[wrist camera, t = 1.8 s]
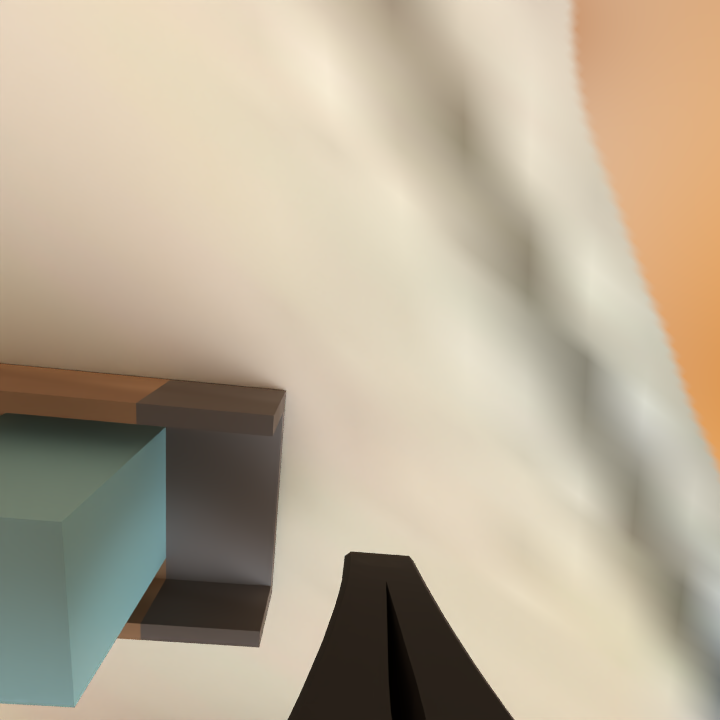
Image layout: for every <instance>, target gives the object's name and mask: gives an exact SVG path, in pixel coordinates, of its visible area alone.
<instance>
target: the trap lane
mask: <svg viewBox="0 0 720 720" xmlns="http://www.w3.org/2000/svg"><path fill="white" fill-rule="evenodd" d="M285 397H286V391H284V390H274V389H263V388H253V387H242V386H232V385H221V384H210V383H200V382H189V381H179V380H168V379H158V378H147V377H137V376H126V375H116V374H105V373H95V372H84V371H74V370H63V369H53V368H42V367H31V366H21V365H10V364H0V415H3V414H5V413H15V414H26V415H37V416H48V417H60V418H71V419H82V420H93V421H105V422H116V423H127V424H138V425H149V426H161V427H166V559H165V560H164V562H163V564H162V565H161V567H160V569H159V570H158V572H157V574H156V575H155V577H154V578H153V580H152V582H151V583H150V585H149V587H148V588H147V590H146V591H145V593H144V595H143V596H142V598H141V600H140V601H139V603H138V605H137V606H136V608H135V609H134V611H133V613H132V614H131V616H130V618H129V619H128V621H127V622H126V624H125V626H124V627H123V629H122V631H121V632H120V634H119V635H118V637H117V638H120V639H136V640H152V641H168V642H184V643H200V644H216V645H231V646H247V647H259V646H260V641H261V637H262V633H263V628H264V624H265V620H266V615H267V611H268V607H269V603H270V598H271V594H272V583H273V568H274V554H275V540H276V526H277V511H278V497H279V483H280V468H281V454H282V440H283V426H284V411H285Z"/></svg>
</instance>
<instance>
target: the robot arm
mask: <svg viewBox="0 0 720 720" xmlns="http://www.w3.org/2000/svg"><path fill="white" fill-rule="evenodd" d="M288 720H514V719H513V717H512V716H511V715H510V713H509V712H508V711H507V709H506V708H505V707H504V705H503V704H502V702H501V701H500V699H499V698H498V697H497V695H496V694H495V692H494V691H493V690H492V688H491V687H490V685H489V684H488V683H487V681H486V680H485V678H484V677H483V675H482V674H481V672H480V671H479V669H478V668H477V667H476V665H475V664H474V662H473V661H472V659H471V658H470V656H469V654H468V653H467V651H466V650H465V648H464V647H463V645H462V644H461V642H460V640H459V639H458V637H457V636H456V634H455V633H454V631H453V630H452V628H451V626H450V625H449V623H448V621H447V620H446V618H445V617H444V615H443V613H442V612H441V610H440V608H439V606H438V605H437V603H436V601H435V600H434V598H433V596H432V595H431V593H430V591H429V589H428V587H427V586H426V584H425V582H424V580H423V578H422V577H421V575H420V573H419V571H418V569H417V567H416V565H415V563H414V561H413V560H412V559H411V558H410V557H409V556H402V555H389V554H375V553H362V552H350V553H348V554H347V555H346V556H345V559H344V568H343V576H342V583H341V587H340V591H339V594H338V598H337V601H336V605H335V608H334V610H333V613H332V616H331V619H330V622H329V625H328V627H327V630H326V633H325V636H324V639H323V641H322V644H321V646H320V649H319V651H318V653H317V656H316V658H315V660H314V663H313V665H312V667H311V670H310V672H309V674H308V677H307V679H306V681H305V684H304V686H303V688H302V691H301V693H300V695H299V697H298V699H297V701H296V703H295V706H294V708H293V710H292V712H291V714H290V716H289V718H288Z"/></svg>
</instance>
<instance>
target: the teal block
mask: <svg viewBox="0 0 720 720" xmlns="http://www.w3.org/2000/svg"><path fill="white" fill-rule="evenodd" d="M165 559H166V427H161V426H149V425H138V424H127V423H116V422H105V421H93V420H82V419H71V418H60V417H48V416H37V415H26V414H15V413H5V414H3V415H0V703H5V704H23V705H42V706H60V707H75V706H76V704H77V702H78V701H79V699H80V697H81V696H82V694H83V693H84V691H85V689H86V688H87V686H88V684H89V683H90V681H91V680H92V678H93V676H94V675H95V673H96V671H97V670H98V668H99V666H100V665H101V663H102V662H103V660H104V658H105V657H106V655H107V653H108V652H109V650H110V649H111V647H112V645H113V644H114V642H115V640H116V639H117V637H118V635H119V634H120V632H121V631H122V629H123V627H124V626H125V624H126V622H127V621H128V619H129V618H130V616H131V614H132V613H133V611H134V609H135V608H136V606H137V605H138V603H139V601H140V600H141V598H142V596H143V595H144V593H145V591H146V590H147V588H148V587H149V585H150V583H151V582H152V580H153V578H154V577H155V575H156V574H157V572H158V570H159V569H160V567H161V565H162V564H163V562H164V560H165Z"/></svg>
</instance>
